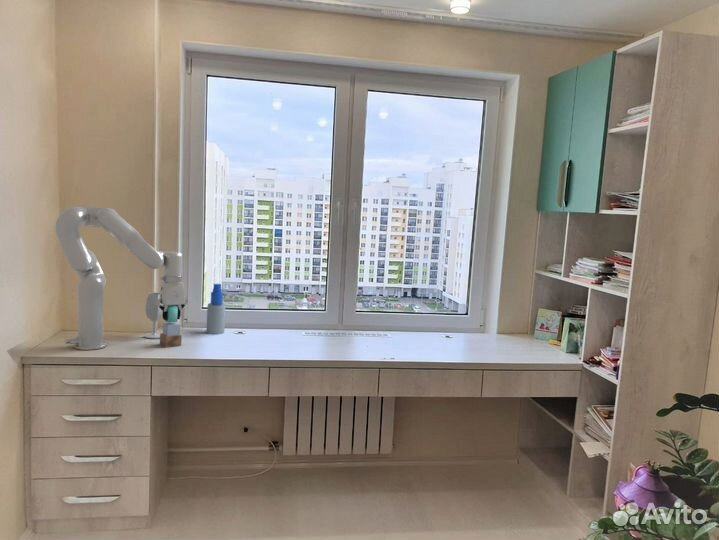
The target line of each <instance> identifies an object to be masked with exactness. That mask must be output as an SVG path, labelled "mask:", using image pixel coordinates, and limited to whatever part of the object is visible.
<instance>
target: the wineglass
mask: <svg viewBox="0 0 719 540" xmlns="http://www.w3.org/2000/svg"><path fill="white" fill-rule="evenodd" d="M159 298H160V292H148V295H147V297H146V301H145V314H146V318H148V319H149V320H150V321H152V332H150V333H146V334H144V336H143V337H144V338H145V339H149V340H151V339H152V340H153V339H156V340H157V339H160V334H161V333H159V332H157V321H158V322H159V320H160V319H161V318H162V313H163V311H162V310H161V309H160V308H159V307H158V306H156V305H155V303H156V302H157V301H158V299H159ZM160 305H162V306H163V304H161V303H160Z"/></svg>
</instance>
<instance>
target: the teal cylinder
mask: <svg viewBox="0 0 719 540" xmlns="http://www.w3.org/2000/svg"><path fill="white" fill-rule="evenodd" d="M167 312H168V318H167V320H165V323H169V322H176V323H178V319H177V318H178V305H168V307H167Z"/></svg>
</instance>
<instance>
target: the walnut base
mask: <svg viewBox="0 0 719 540" xmlns="http://www.w3.org/2000/svg"><path fill="white" fill-rule="evenodd" d="M182 339H183V338H182V334H180V335H177V336H166V335H164V334H163V332H162V333H160V338H159V345H161V346H162V347H164V348H172V347H173V348H174V347H181V346H182Z"/></svg>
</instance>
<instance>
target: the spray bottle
mask: <svg viewBox="0 0 719 540" xmlns="http://www.w3.org/2000/svg"><path fill="white" fill-rule="evenodd" d="M222 290H223V289H222V284H221V283H213V288H212V291H210V303H208V304H207V309H206V310H207V311H206V329H205V330H206V333H207V334H209V335H222V334H224V333H225V326H226V325H225V324H226V323H225V322H226V304H225V303H224V301H223V300H224V291H222Z"/></svg>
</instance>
